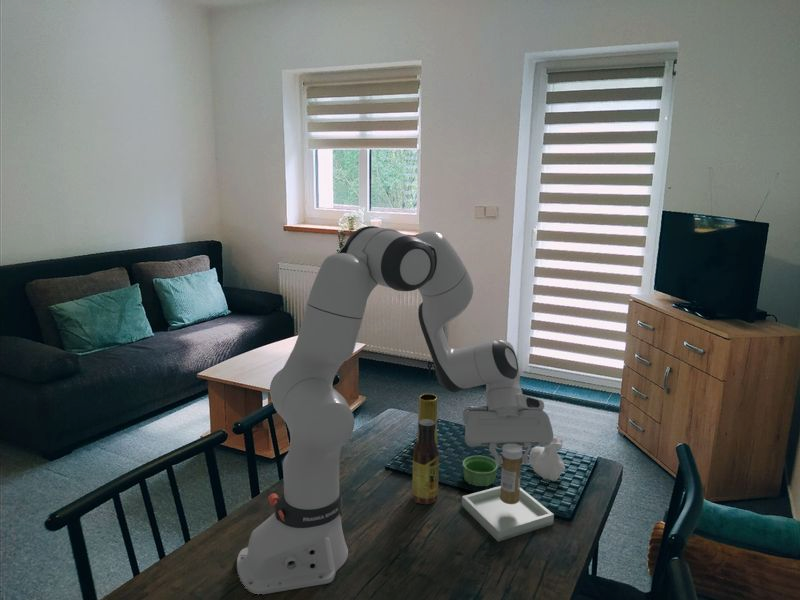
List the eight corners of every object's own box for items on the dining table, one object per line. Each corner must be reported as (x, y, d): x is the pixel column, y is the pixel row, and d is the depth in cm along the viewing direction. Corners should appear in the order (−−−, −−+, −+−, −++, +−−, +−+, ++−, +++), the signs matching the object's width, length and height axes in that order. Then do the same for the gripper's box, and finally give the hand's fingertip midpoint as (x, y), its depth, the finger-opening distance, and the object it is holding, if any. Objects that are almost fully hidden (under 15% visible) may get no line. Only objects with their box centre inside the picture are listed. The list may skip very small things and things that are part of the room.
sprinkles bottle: (523, 500, 138) (526, 447, 134) (510, 507, 135) (513, 454, 132) (508, 491, 141) (511, 440, 138) (495, 498, 139) (497, 446, 135)
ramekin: (460, 486, 150) (461, 471, 149) (463, 468, 159) (463, 453, 158) (496, 490, 149) (497, 474, 148) (497, 472, 157) (498, 457, 156)
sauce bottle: (433, 508, 141) (435, 430, 136) (408, 502, 143) (409, 426, 138) (440, 493, 147) (443, 419, 142) (416, 488, 149) (418, 415, 144)
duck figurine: (562, 491, 152) (586, 454, 153) (545, 480, 149) (569, 442, 150) (532, 469, 163) (554, 435, 164) (515, 459, 159) (538, 423, 160)
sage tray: (498, 541, 129) (498, 531, 128) (461, 505, 142) (462, 496, 141) (553, 524, 135) (553, 514, 135) (513, 491, 148) (514, 482, 148)
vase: (427, 436, 177) (428, 391, 173) (442, 443, 172) (443, 397, 169) (412, 442, 173) (413, 396, 170) (426, 450, 169) (427, 403, 165)
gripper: (463, 401, 139) (468, 460, 132) (550, 401, 140) (559, 459, 133) (460, 411, 145) (464, 468, 137) (543, 410, 145) (552, 467, 138)
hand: (512, 464), depth 135 cm, fingers closed on sprinkles bottle, 4 cm apart
